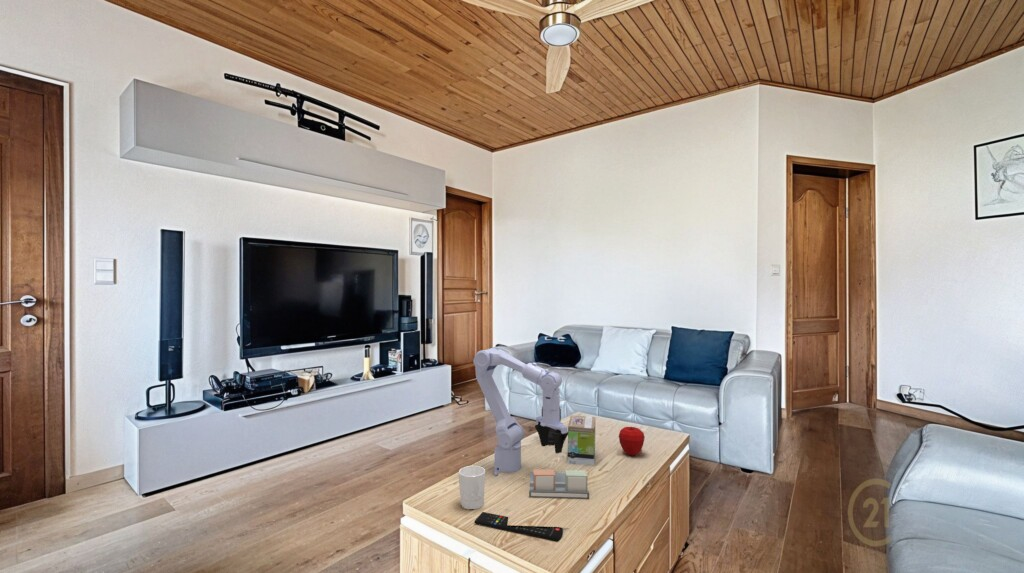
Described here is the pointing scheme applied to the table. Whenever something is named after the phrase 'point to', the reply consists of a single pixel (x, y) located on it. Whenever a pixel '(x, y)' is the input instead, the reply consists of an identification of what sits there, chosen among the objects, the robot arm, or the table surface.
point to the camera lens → (550, 437)
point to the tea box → (581, 440)
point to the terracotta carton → (544, 479)
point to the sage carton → (575, 480)
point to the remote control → (519, 527)
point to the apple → (631, 440)
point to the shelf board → (557, 490)
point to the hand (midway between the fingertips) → (551, 449)
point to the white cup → (472, 486)
